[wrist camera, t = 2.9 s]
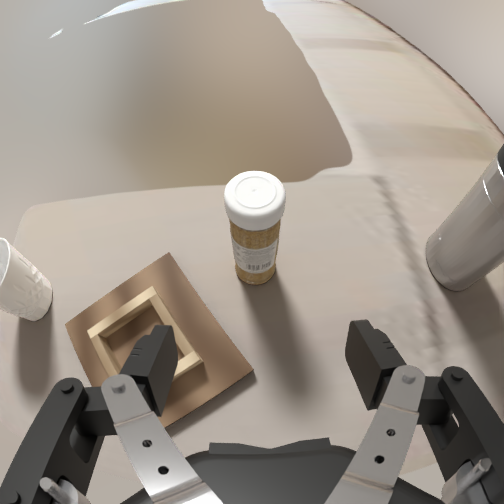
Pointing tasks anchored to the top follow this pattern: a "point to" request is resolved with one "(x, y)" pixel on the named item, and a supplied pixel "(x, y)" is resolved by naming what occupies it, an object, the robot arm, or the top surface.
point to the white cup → (22, 285)
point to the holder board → (142, 323)
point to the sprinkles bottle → (255, 223)
